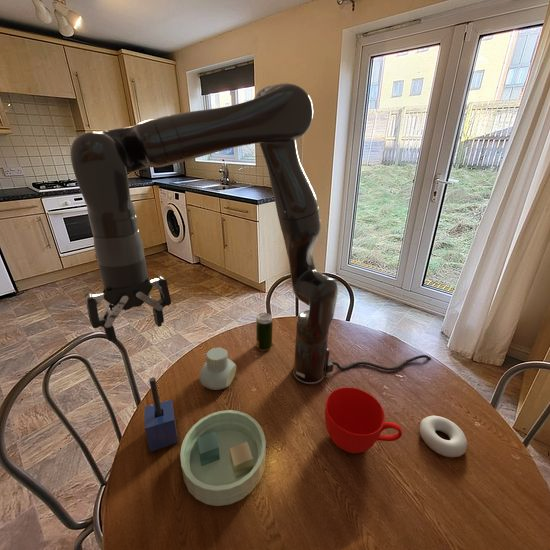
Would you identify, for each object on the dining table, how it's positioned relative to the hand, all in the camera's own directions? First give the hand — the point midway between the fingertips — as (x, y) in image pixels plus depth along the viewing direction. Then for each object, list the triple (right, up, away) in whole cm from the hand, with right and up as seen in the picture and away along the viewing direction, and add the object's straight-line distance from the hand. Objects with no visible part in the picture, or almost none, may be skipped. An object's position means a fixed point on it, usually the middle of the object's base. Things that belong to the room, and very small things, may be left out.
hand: (137, 332), depth 59 cm
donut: (+67, -28, +11) cm, 74 cm away
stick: (+1, -27, +10) cm, 29 cm away
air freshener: (+11, -20, +27) cm, 35 cm away
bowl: (+17, -29, +5) cm, 34 cm away
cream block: (+21, -29, +4) cm, 36 cm away
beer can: (+24, -13, +42) cm, 50 cm away
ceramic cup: (+47, -28, +10) cm, 56 cm away
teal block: (+13, -28, +6) cm, 32 cm away
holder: (+1, -27, +10) cm, 29 cm away
